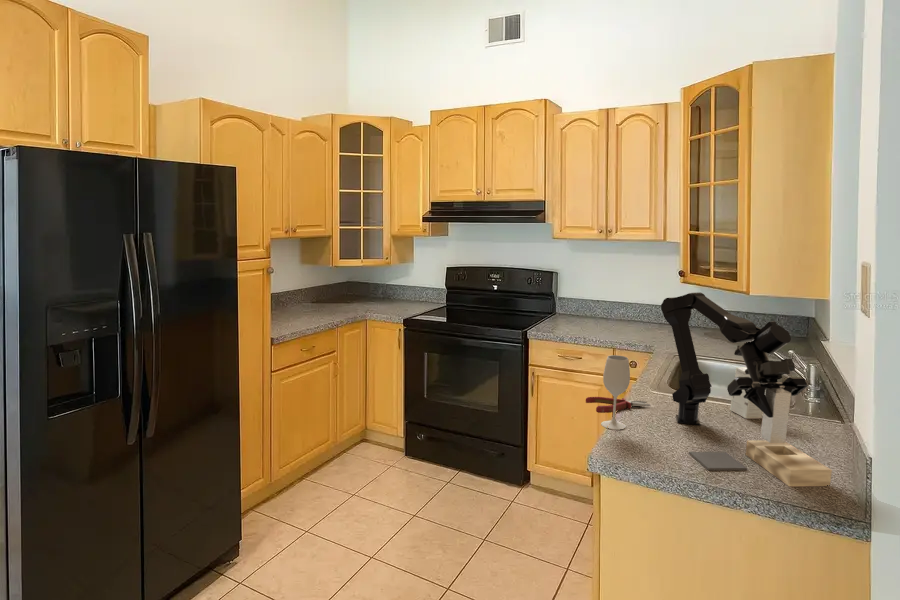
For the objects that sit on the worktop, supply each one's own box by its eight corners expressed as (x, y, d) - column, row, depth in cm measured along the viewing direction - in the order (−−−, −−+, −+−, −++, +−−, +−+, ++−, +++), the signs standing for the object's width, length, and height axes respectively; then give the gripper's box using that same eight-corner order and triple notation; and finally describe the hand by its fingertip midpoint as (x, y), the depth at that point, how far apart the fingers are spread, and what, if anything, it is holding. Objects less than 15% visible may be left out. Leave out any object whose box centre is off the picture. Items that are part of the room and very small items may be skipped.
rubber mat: (689, 453, 152) (689, 451, 152) (725, 453, 152) (725, 451, 152) (708, 470, 142) (708, 468, 142) (746, 470, 143) (747, 467, 142)
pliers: (656, 412, 185) (657, 405, 185) (597, 414, 182) (597, 406, 182) (640, 401, 196) (640, 394, 196) (584, 403, 194) (584, 395, 193)
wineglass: (600, 419, 176) (604, 353, 173) (626, 422, 174) (631, 355, 171) (599, 428, 169) (604, 359, 166) (626, 431, 167) (631, 361, 164)
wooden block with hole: (745, 454, 152) (747, 440, 151) (781, 454, 153) (783, 440, 152) (789, 486, 134) (791, 470, 134) (829, 486, 135) (831, 470, 134)
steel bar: (760, 436, 147) (765, 388, 145) (775, 436, 147) (780, 388, 145) (770, 442, 143) (775, 393, 141) (785, 442, 143) (791, 393, 141)
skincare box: (729, 410, 187) (733, 366, 185) (746, 409, 188) (750, 366, 186) (746, 419, 179) (751, 373, 177) (763, 418, 180) (768, 373, 178)
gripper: (738, 346, 145) (759, 402, 136) (807, 347, 146) (833, 402, 137) (718, 368, 154) (737, 422, 145) (784, 368, 155) (807, 421, 146)
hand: (779, 416), depth 143 cm, fingers closed on steel bar, 4 cm apart
